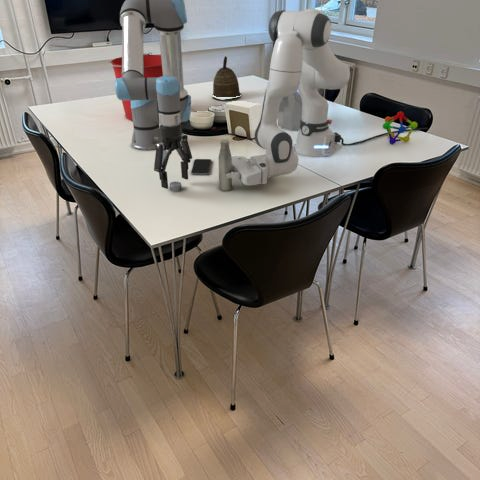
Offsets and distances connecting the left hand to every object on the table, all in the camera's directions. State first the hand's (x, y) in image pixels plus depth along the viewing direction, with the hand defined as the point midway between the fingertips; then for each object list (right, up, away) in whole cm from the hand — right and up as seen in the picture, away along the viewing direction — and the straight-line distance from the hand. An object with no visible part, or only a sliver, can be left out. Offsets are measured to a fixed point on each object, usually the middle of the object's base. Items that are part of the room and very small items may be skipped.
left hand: (175, 182), depth 165 cm
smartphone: (+8, +9, +19) cm, 23 cm away
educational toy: (+98, +25, +46) cm, 111 cm away
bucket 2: (+54, +39, +68) cm, 95 cm away
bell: (+16, +69, +116) cm, 136 cm away
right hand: (+18, +4, -1) cm, 18 cm away
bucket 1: (-27, +49, +82) cm, 99 cm away
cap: (0, -1, 0) cm, 1 cm away
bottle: (+19, -2, +2) cm, 19 cm away
